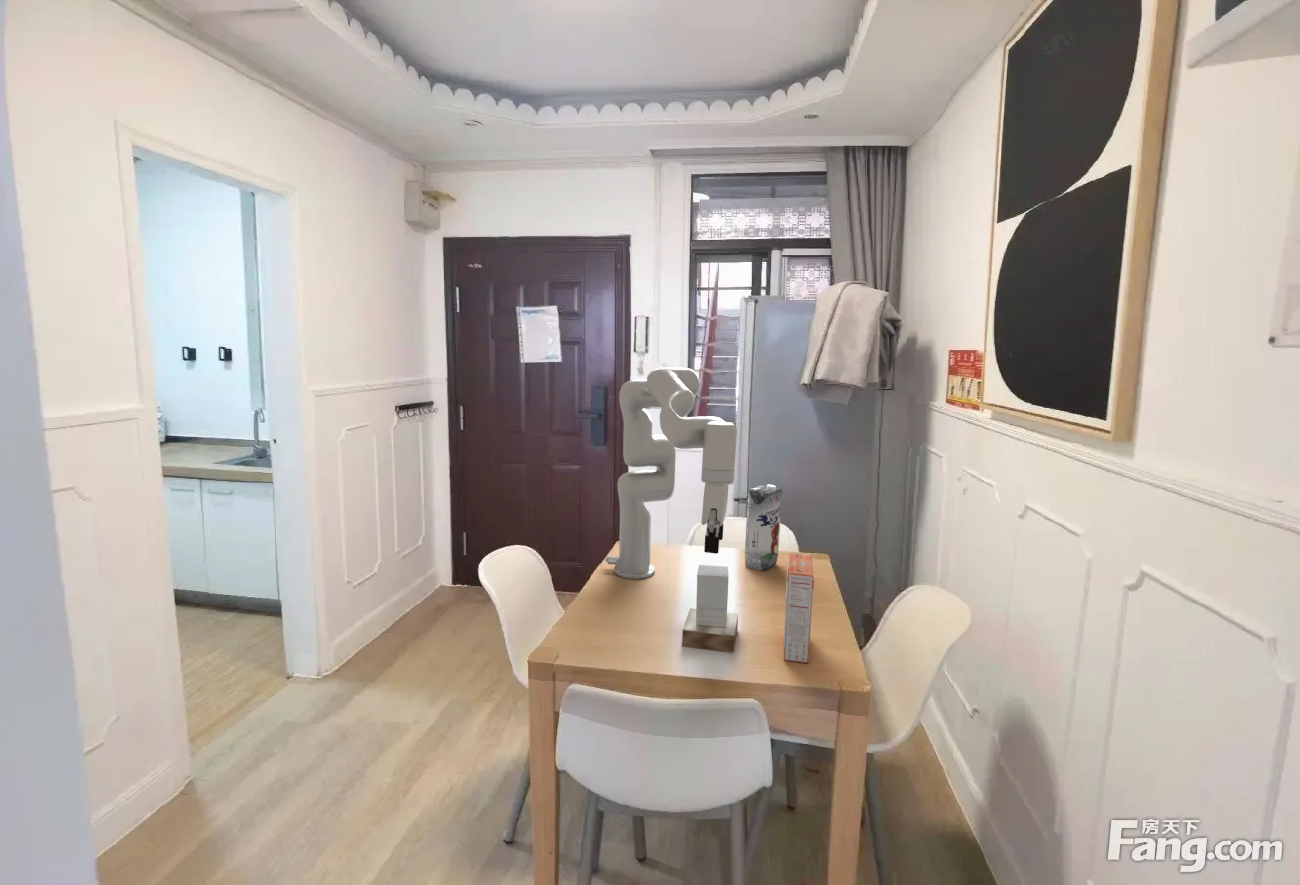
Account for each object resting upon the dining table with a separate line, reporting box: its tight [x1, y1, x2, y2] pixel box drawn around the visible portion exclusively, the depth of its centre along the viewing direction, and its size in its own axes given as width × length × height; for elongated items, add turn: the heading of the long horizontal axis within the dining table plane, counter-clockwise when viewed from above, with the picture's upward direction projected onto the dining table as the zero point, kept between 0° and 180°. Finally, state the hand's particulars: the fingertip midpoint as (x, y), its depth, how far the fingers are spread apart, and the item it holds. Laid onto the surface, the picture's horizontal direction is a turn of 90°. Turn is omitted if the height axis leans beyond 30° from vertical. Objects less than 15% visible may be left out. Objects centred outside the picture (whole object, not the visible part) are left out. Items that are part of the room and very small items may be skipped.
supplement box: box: [695, 564, 729, 627], centre depth 149 cm, size 7×7×13 cm
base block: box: [681, 608, 739, 654], centre depth 150 cm, size 12×12×4 cm
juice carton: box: [744, 484, 783, 572], centre depth 200 cm, size 9×10×27 cm
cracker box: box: [783, 553, 815, 664], centre depth 145 cm, size 14×6×21 cm, turn 167°
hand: (713, 545), depth 148 cm, fingers open, 9 cm apart
